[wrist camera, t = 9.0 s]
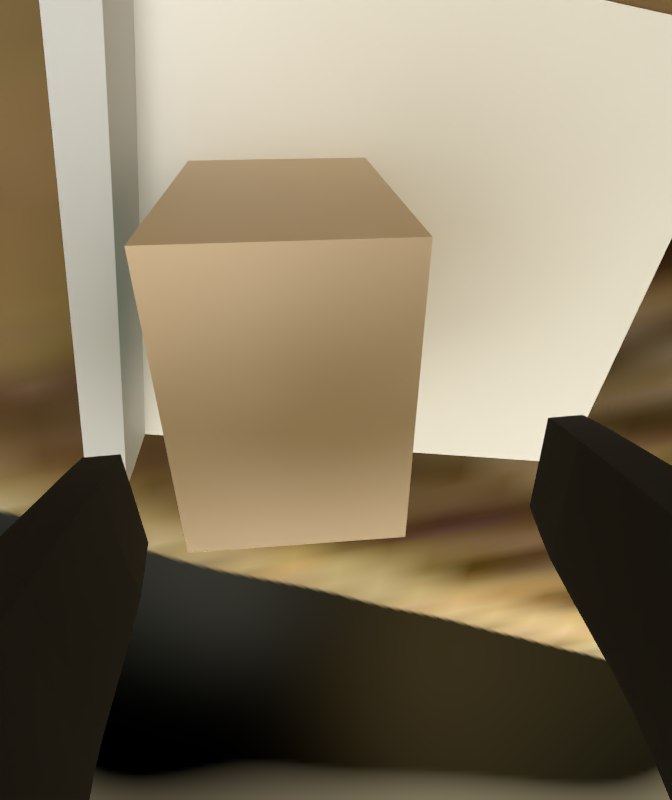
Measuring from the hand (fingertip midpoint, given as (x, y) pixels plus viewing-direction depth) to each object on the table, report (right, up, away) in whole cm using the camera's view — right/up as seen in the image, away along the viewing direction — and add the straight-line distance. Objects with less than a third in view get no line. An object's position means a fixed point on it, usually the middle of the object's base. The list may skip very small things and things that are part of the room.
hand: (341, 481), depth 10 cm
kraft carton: (-2, +5, +8) cm, 10 cm away
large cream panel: (+2, +6, +9) cm, 11 cm away
